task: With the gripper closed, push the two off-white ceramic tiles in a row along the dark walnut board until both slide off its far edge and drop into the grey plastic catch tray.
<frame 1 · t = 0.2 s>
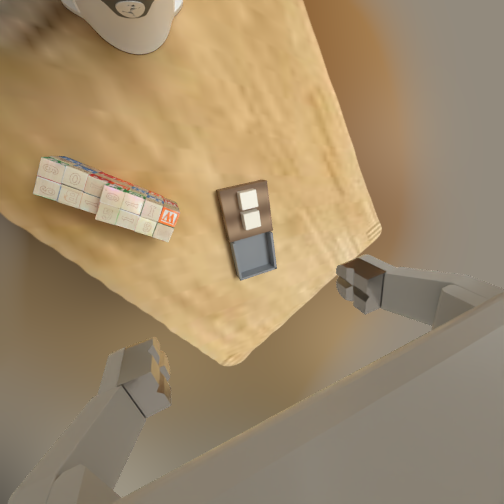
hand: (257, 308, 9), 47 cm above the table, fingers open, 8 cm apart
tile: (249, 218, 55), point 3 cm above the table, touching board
stack of blocks: (122, 195, 47), on the table
tray: (251, 252, 63), on the table
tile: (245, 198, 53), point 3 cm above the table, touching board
board: (244, 209, 57), on the table
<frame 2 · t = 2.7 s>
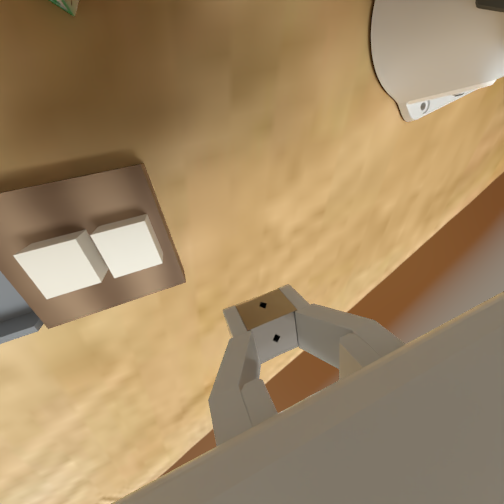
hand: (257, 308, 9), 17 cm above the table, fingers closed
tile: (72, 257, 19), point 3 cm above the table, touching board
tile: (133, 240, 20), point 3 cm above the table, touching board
board: (100, 240, 22), on the table
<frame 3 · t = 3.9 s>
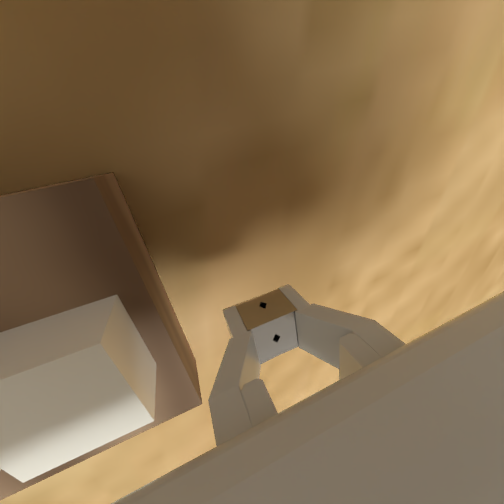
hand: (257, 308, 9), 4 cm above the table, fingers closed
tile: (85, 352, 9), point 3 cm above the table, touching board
board: (23, 334, 10), on the table
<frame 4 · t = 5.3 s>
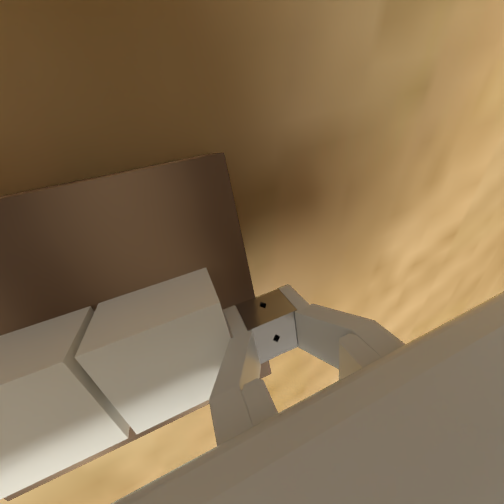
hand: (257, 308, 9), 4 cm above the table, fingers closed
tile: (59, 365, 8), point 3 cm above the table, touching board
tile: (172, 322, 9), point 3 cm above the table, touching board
board: (116, 305, 11), on the table
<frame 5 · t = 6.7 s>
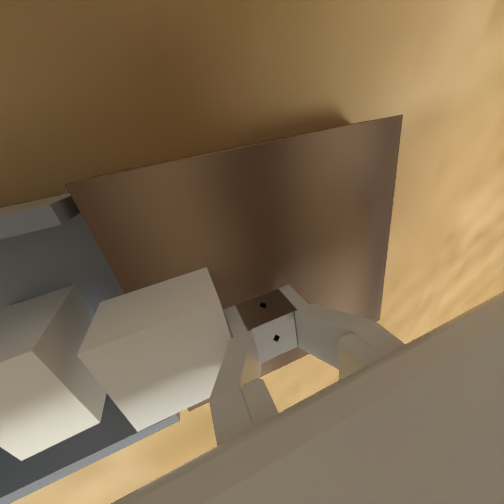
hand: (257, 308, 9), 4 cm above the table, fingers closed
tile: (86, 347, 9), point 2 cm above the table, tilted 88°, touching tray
tray: (17, 337, 10), on the table
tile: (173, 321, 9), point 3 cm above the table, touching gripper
board: (261, 255, 13), on the table
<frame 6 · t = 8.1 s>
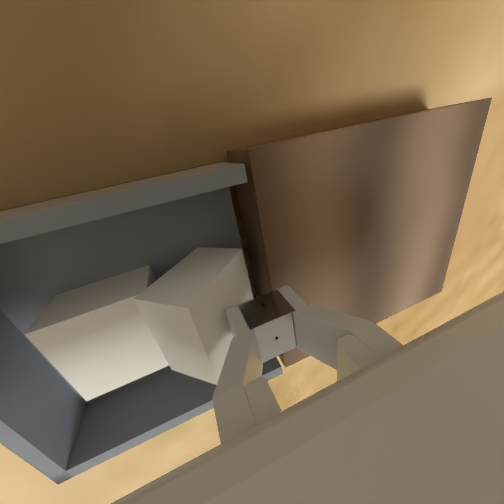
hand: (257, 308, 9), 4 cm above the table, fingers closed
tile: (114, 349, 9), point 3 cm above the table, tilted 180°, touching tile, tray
tray: (145, 296, 12), on the table
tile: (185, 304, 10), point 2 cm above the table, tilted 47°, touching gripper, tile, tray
board: (340, 229, 15), on the table
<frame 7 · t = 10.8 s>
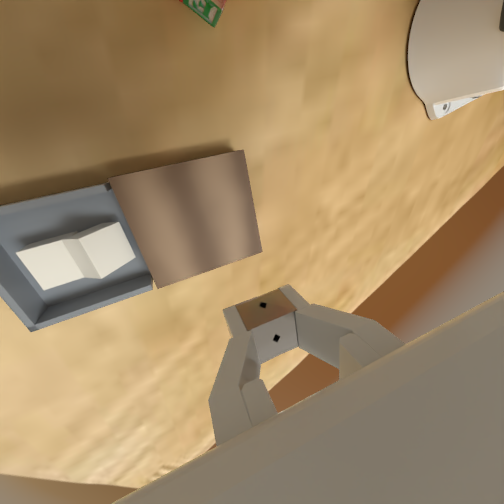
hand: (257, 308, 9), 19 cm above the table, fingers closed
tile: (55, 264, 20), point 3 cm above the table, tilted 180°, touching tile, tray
tray: (77, 248, 23), on the table
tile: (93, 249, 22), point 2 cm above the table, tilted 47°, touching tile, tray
board: (195, 216, 26), on the table
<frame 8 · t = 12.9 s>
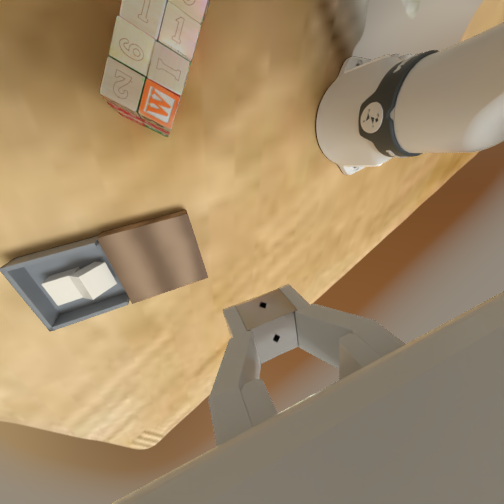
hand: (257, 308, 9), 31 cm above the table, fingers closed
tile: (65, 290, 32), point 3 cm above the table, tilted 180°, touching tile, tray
stack of blocks: (168, 45, 29), on the table
tray: (79, 277, 35), on the table
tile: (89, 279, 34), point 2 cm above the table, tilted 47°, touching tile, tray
board: (159, 253, 38), on the table
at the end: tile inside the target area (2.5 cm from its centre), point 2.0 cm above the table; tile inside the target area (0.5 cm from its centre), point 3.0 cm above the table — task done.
